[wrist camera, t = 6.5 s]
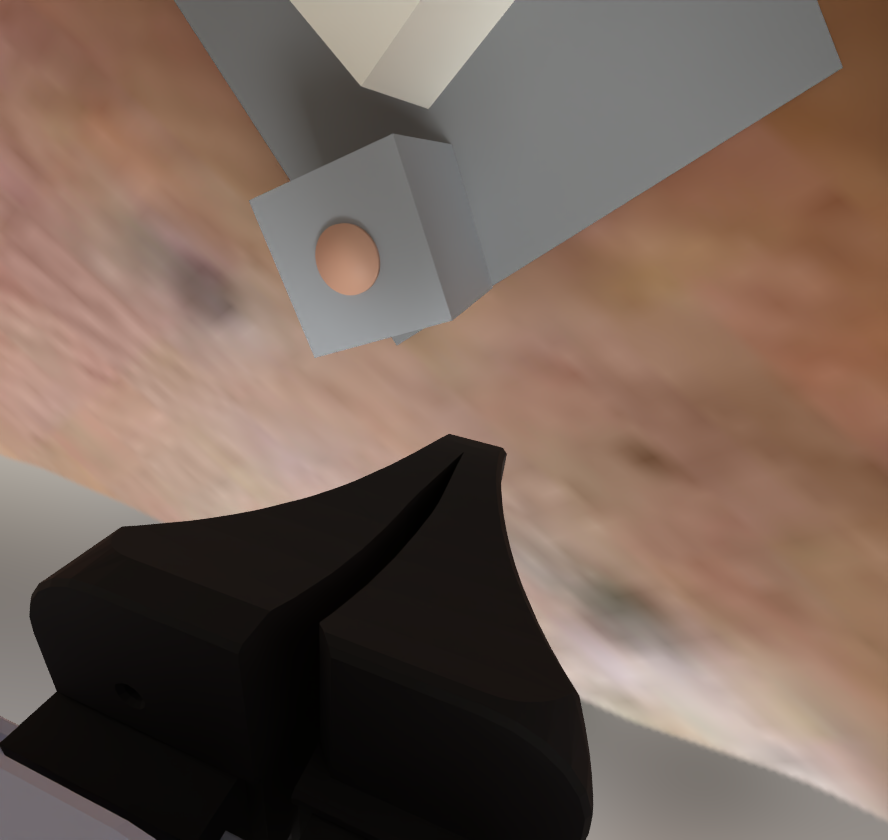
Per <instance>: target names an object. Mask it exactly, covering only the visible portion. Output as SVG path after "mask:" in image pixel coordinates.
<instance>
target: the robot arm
mask: <svg viewBox="0 0 888 840" xmlns="http://www.w3.org/2000/svg"><path fill="white" fill-rule="evenodd" d="M506 455H507V454H506V452H505V451H504V449H503V448H501V447H498V446H494V445H490V444H486V443H482V442H478V441H474V440H471V439H467V438H463V437H459V436H455V435H451V434H448V435H446V436H444V437H442V438H440V439H438V440H437V441H435V442H433V443H431V444H429V445H428V446H426V447H424V448H422V449H420V450H418V451H417V452H415V453H413V454H411V455H409V456H407V457H405V458H403V459H401V460H399V461H397V462H396V463H394V464H392V465H389V466H387V467H385V468H383V469H381V470H378V471H376V472H374V473H372V474H369V475H367V476H365V477H363V478H361V479H358V480H356V481H354V482H351V483H349V484H346V485H343V486H341V487H338V488H335V489H332V490H329V491H326V492H323V493H320V494H317V495H314V496H311V497H307V498H304V499H300V500H296V501H292V502H288V503H284V504H280V505H276V506H272V507H268V508H264V509H260V510H255V511H249V512H244V513H239V514H233V515H227V516H221V517H214V518H208V519H200V520H193V521H183V522H172V523H162V524H151V525H140V526H125V527H121V528H119V529H118V530H116V531H115V532H113V533H112V534H111V535H109V536H108V537H106V538H105V539H103V540H102V541H100V542H99V543H97V544H96V545H94V546H93V547H92V548H90V549H89V550H87V551H86V552H84V553H83V554H81V555H80V556H79V557H77V558H76V559H74V560H73V561H71V562H70V563H68V564H67V565H66V566H64V567H63V568H61V569H60V570H58V571H57V572H55V573H54V574H53V575H51V576H50V577H48V578H47V579H46V580H44V581H42V582H41V583H39V584H38V586H37V588H36V589H35V591H34V592H33V594H32V596H31V603H30V620H31V624H32V628H33V632H34V635H35V637H36V639H37V642H38V645H39V647H40V650H41V652H42V655H43V657H44V660H45V663H46V665H47V668H48V670H49V673H50V675H51V678H52V680H53V683H54V685H55V688H56V690H57V692H56V693H55V694H54V695H53V696H51V698H49V699H48V700H47V701H46V702H45V703H44V704H42V705H41V706H40V707H39V708H38V709H37V710H36V711H35V712H34V713H32V714H31V715H30V716H29V717H28V718H27V719H26V720H25V721H24V722H22V724H20V725H17V724H15V723H13V722H11V721H9V720H7V719H5V718H3V717H1V716H0V840H586V837H587V836H588V834H589V830H590V825H591V821H592V815H593V787H592V772H591V762H590V753H589V747H588V741H587V734H586V728H585V723H584V718H583V713H582V708H581V702H580V697H579V694H578V693H577V691H576V690H575V688H574V686H573V685H572V683H571V682H570V680H569V678H568V677H567V675H566V673H565V672H564V670H563V668H562V667H561V665H560V663H559V661H558V660H557V658H556V656H555V654H554V653H553V651H552V649H551V647H550V645H549V643H548V641H547V639H546V637H545V635H544V633H543V631H542V629H541V627H540V626H539V624H538V621H537V619H536V617H535V614H534V612H533V610H532V607H531V605H530V603H529V600H528V598H527V596H526V593H525V591H524V589H523V586H522V584H521V581H520V578H519V575H518V572H517V569H516V566H515V563H514V559H513V556H512V552H511V549H510V545H509V540H508V536H507V531H506V526H505V520H504V514H503V506H502V494H501V480H502V475H503V470H504V465H505V460H506Z"/></svg>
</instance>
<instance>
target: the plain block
mask: <svg viewBox="0 0 888 840" xmlns="http://www.w3.org/2000/svg"><path fill="white" fill-rule="evenodd" d="M290 1H291V3H292V4H293V5H294V6H295V7H296V9H297V10H298V11H299V12H300V13H301V15H302V16H303V17H304V18H305V19H306V21H307V22H308V23H309V24H310V25H311V27H312V28H313V29H314V30H315V32H316V33H317V34H318V35H319V36H320V38H321V39H322V40H323V41H324V42H325V44H326V45H327V46H328V47H329V48H330V50H331V51H332V52H333V53H334V54H335V56H336V57H337V58H338V59H339V60H340V62H341V63H342V64H343V65H344V66H345V68H346V69H347V70H348V71H349V72H350V74H351V75H352V76H353V77H354V79H355V80H356V81H357V82H358V83H359V85H360V86H362V87H365V88H368V89H371V90H374V91H376V92H379V93H382V94H385V95H388V96H391V97H394V98H397V99H400V100H403V101H406V102H409V103H412V104H415V105H418V106H421V107H424V108H427V109H429V108H430V107H431V105H432V104H433V103H434V102H435V100H436V99H437V98H438V96H439V95H440V94H441V93H442V91H443V90H444V89H445V88H446V86H447V85H448V84H449V83H450V81H451V80H452V79H453V78H454V76H455V75H456V74H457V73H458V71H459V70H460V69H461V68H462V66H463V65H464V64H465V62H466V61H467V60H468V59H469V57H470V56H471V55H472V54H473V52H474V51H475V50H476V49H477V47H478V46H479V45H480V44H481V42H482V41H483V40H484V39H485V37H486V36H487V35H488V33H489V32H490V31H491V30H492V28H493V27H494V26H495V25H496V23H497V22H498V21H499V20H500V18H501V17H502V16H503V15H504V13H505V12H506V11H507V10H508V8H509V7H510V6H511V4H512V3H513V2H514V1H515V0H290Z"/></svg>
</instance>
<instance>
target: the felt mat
mask: <svg viewBox="0 0 888 840" xmlns="http://www.w3.org/2000/svg"><path fill="white" fill-rule="evenodd" d="M174 1H175V3H176V4H177V6H178V7H179V9H180V10H181V12H182V14H183V15H184V17H185V18H186V20H187V21H188V23H189V24H190V26H191V27H192V29H193V31H194V32H195V34H196V35H197V37H198V38H199V40H200V41H201V43H202V44H203V46H204V48H205V49H206V51H207V52H208V54H209V55H210V57H211V58H212V60H213V62H214V63H215V65H216V66H217V68H218V69H219V71H220V72H221V74H222V75H223V77H224V79H225V80H226V82H227V83H228V85H229V86H230V88H231V89H232V91H233V92H234V94H235V96H236V97H237V99H238V100H239V102H240V103H241V105H242V106H243V108H244V109H245V111H246V113H247V114H248V116H249V117H250V119H251V120H252V122H253V123H254V125H255V127H256V128H257V130H258V131H259V133H260V134H261V136H262V137H263V139H264V140H265V142H266V144H267V145H268V147H269V148H270V150H271V151H272V153H273V154H274V156H275V157H276V159H277V161H278V162H279V164H280V165H281V167H282V168H283V170H284V171H285V173H286V175H287V176H288V178H289V179H290V181H292V180H294V179H296V178H298V177H301V176H303V175H305V174H307V173H309V172H311V171H313V170H316V169H318V168H320V167H322V166H324V165H326V164H329V163H331V162H333V161H335V160H337V159H339V158H341V157H344V156H346V155H348V154H350V153H352V152H354V151H356V150H359V149H361V148H363V147H365V146H367V145H369V144H372V143H374V142H376V141H378V140H380V139H382V138H384V137H387V136H389V135H391V134H398V135H403V136H409V137H414V138H420V139H425V140H431V141H436V142H442V143H447V144H452V147H453V151H454V154H455V158H456V161H457V165H458V168H459V172H460V175H461V179H462V182H463V186H464V189H465V193H466V196H467V200H468V203H469V207H470V210H471V214H472V217H473V221H474V224H475V228H476V231H477V235H478V238H479V242H480V245H481V249H482V252H483V256H484V259H485V263H486V266H487V270H488V273H489V277H490V280H491V284H492V286H493V285H495V284H496V283H498V282H499V281H501V280H503V279H504V278H506V277H507V276H509V275H511V274H512V273H514V272H516V271H517V270H519V269H520V268H522V267H524V266H525V265H527V264H528V263H530V262H532V261H533V260H535V259H536V258H538V257H540V256H541V255H543V254H544V253H546V252H548V251H549V250H551V249H552V248H554V247H556V246H557V245H559V244H560V243H562V242H564V241H565V240H567V239H568V238H570V237H572V236H573V235H575V234H577V233H578V232H580V231H581V230H583V229H585V228H586V227H588V226H589V225H591V224H593V223H594V222H596V221H597V220H599V219H601V218H602V217H604V216H605V215H607V214H609V213H610V212H612V211H613V210H615V209H617V208H618V207H620V206H621V205H623V204H625V203H626V202H628V201H629V200H631V199H633V198H634V197H636V196H638V195H639V194H641V193H642V192H644V191H646V190H647V189H649V188H650V187H652V186H654V185H655V184H657V183H658V182H660V181H662V180H663V179H665V178H666V177H668V176H670V175H671V174H673V173H674V172H676V171H678V170H679V169H681V168H682V167H684V166H686V165H687V164H689V163H690V162H692V161H694V160H695V159H697V158H699V157H700V156H702V155H703V154H705V153H707V152H708V151H710V150H711V149H713V148H715V147H716V146H718V145H719V144H721V143H723V142H724V141H726V140H727V139H729V138H731V137H732V136H734V135H735V134H737V133H739V132H740V131H742V130H743V129H745V128H747V127H748V126H750V125H751V124H753V123H755V122H756V121H758V120H760V119H761V118H763V117H764V116H766V115H768V114H769V113H771V112H772V111H774V110H776V109H777V108H779V107H780V106H782V105H784V104H785V103H787V102H788V101H790V100H792V99H793V98H795V97H796V96H798V95H800V94H801V93H803V92H804V91H806V90H808V89H809V88H811V87H812V86H814V85H816V84H817V83H819V82H821V81H822V80H824V79H825V78H827V77H829V76H830V75H832V74H833V73H835V72H837V71H838V70H840V69H841V68H843V67H842V64H841V61H840V59H839V56H838V54H837V51H836V48H835V46H834V43H833V41H832V38H831V36H830V33H829V30H828V28H827V25H826V23H825V20H824V17H823V15H822V12H821V10H820V7H819V5H818V2H817V0H515V1H514V2H513V3H512V4H511V6H510V7H509V8H508V10H507V11H506V12H505V13H504V15H503V16H502V17H501V18H500V20H499V21H498V22H497V23H496V25H495V26H494V27H493V28H492V30H491V31H490V32H489V33H488V35H487V36H486V37H485V39H484V40H483V41H482V42H481V44H480V45H479V46H478V47H477V49H476V50H475V51H474V52H473V54H472V55H471V56H470V57H469V59H468V60H467V61H466V62H465V64H464V65H463V66H462V68H461V69H460V70H459V71H458V73H457V74H456V75H455V76H454V78H453V79H452V80H451V81H450V83H449V84H448V85H447V86H446V88H445V89H444V90H443V91H442V93H441V94H440V95H439V96H438V98H437V99H436V100H435V102H434V103H433V104H432V105H431V107H430V108H429V109H427V108H424V107H421V106H418V105H415V104H412V103H409V102H406V101H403V100H400V99H397V98H394V97H391V96H388V95H385V94H382V93H379V92H376V91H374V90H371V89H368V88H365V87H362V86H360V85H359V83H358V82H357V81H356V80H355V79H354V77H353V76H352V75H351V74H350V72H349V71H348V70H347V69H346V68H345V66H344V65H343V64H342V63H341V62H340V60H339V59H338V58H337V57H336V56H335V54H334V53H333V52H332V51H331V50H330V48H329V47H328V46H327V45H326V44H325V42H324V41H323V40H322V39H321V38H320V36H319V35H318V34H317V33H316V32H315V30H314V29H313V28H312V27H311V25H310V24H309V23H308V22H307V21H306V19H305V18H304V17H303V16H302V15H301V13H300V12H299V11H298V10H297V9H296V7H295V6H294V5H293V4H292V3H291V1H290V0H174ZM423 329H424V328H423ZM421 330H422V329H419V330H415V331H412V332H408V333H404V334H401V335H397V336H393V337H392V339H393V340H394V342H395V343H396V345H398V344H400V343H402V342H403V341H405V340H406V339H408V338H410V337H411V336H413V335H414V334H416V333H418V332H419V331H421Z"/></svg>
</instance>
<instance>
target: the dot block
mask: <svg viewBox="0 0 888 840" xmlns="http://www.w3.org/2000/svg"><path fill="white" fill-rule="evenodd" d="M249 202H250V204H251V207H252V209H253V211H254V214H255V216H256V219H257V221H258V223H259V226H260V228H261V231H262V233H263V235H264V238H265V240H266V243H267V245H268V247H269V250H270V252H271V254H272V257H273V259H274V262H275V264H276V266H277V269H278V271H279V274H280V276H281V278H282V281H283V283H284V285H285V288H286V290H287V293H288V295H289V297H290V300H291V302H292V305H293V307H294V309H295V312H296V314H297V317H298V319H299V321H300V324H301V326H302V328H303V331H304V333H305V336H306V338H307V340H308V343H309V345H310V348H311V350H312V352H313V355H314V357H315V358H316V357H320V356H323V355H327V354H331V353H334V352H338V351H342V350H346V349H349V348H353V347H357V346H360V345H364V344H368V343H371V342H375V341H379V340H382V339H386V338H390V337H393V336H397V335H401V334H404V333H408V332H412V331H415V330H419V329H423V328H426V327H430V326H434V325H437V324H441V323H445V322H448V321H452V320H453V319H455V318H456V317H457V316H458V315H460V314H461V313H462V312H463V311H465V310H466V309H467V308H468V307H469V306H471V305H472V304H473V303H474V302H476V301H477V300H478V299H479V298H481V297H482V296H483V295H484V294H486V293H487V292H488V291H489V290H490V289H492V288H493V287H492V284H491V280H490V277H489V273H488V270H487V266H486V263H485V259H484V256H483V252H482V249H481V245H480V242H479V238H478V235H477V231H476V228H475V224H474V221H473V217H472V214H471V210H470V207H469V203H468V200H467V196H466V193H465V189H464V186H463V182H462V179H461V175H460V172H459V168H458V165H457V161H456V158H455V154H454V151H453V147H452V144H447V143H442V142H436V141H431V140H425V139H420V138H414V137H409V136H403V135H398V134H391V135H389V136H387V137H384V138H382V139H380V140H378V141H376V142H374V143H372V144H369V145H367V146H365V147H363V148H361V149H359V150H356V151H354V152H352V153H350V154H348V155H346V156H344V157H341V158H339V159H337V160H335V161H333V162H331V163H329V164H326V165H324V166H322V167H320V168H318V169H316V170H313V171H311V172H309V173H307V174H305V175H303V176H301V177H298V178H296V179H294V180H292V181H290V182H288V183H286V184H283V185H281V186H279V187H277V188H275V189H273V190H270V191H268V192H266V193H264V194H262V195H260V196H258V197H255V198H253V199H251V200H249Z"/></svg>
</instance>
